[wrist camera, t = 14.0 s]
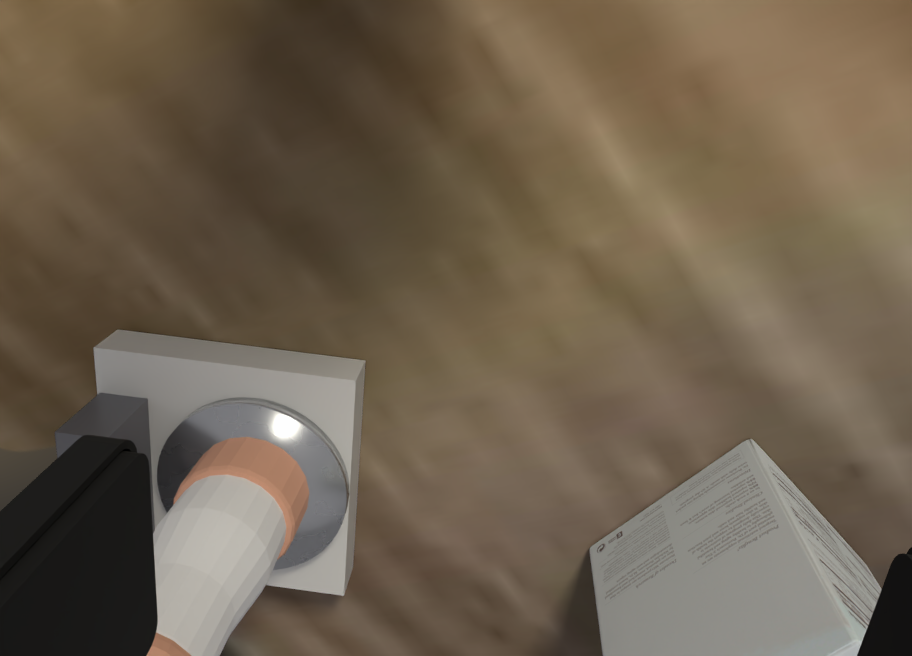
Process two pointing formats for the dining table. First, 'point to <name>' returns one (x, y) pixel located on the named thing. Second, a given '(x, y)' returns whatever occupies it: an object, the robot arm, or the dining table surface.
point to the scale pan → (281, 430)
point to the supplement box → (731, 571)
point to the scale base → (215, 378)
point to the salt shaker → (223, 542)
